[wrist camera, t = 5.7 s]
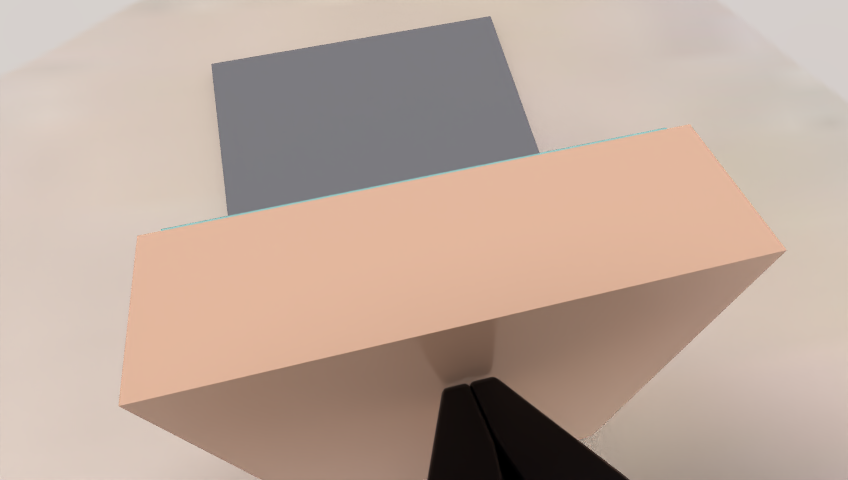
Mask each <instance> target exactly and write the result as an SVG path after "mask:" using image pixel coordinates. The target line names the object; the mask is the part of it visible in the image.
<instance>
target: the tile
mask: <svg viewBox="0 0 848 480" xmlns="http://www.w3.org/2000/svg"><path fill="white" fill-rule="evenodd" d="M785 251H786V249H785V247H784V246H783V245H782V244H781V242H780V241H779V240H778V238H777V237H776V236H775V234H774V233H773V232H772V231H771V229H770V228H769V227H768V225H767V224H766V223H765V221H764V220H763V219H762V218H761V216H760V215H759V214H758V212H757V211H756V210H755V208H754V207H753V206H752V204H751V203H750V202H749V201H748V199H747V198H746V197H745V195H744V194H743V193H742V191H741V190H740V189H739V188H738V186H737V185H736V184H735V182H734V181H733V180H732V178H731V177H730V176H729V175H728V173H727V172H726V171H725V169H724V168H723V167H722V165H721V164H720V163H719V162H718V160H717V159H716V158H715V156H714V155H713V154H712V152H711V151H710V150H709V149H708V147H707V146H706V145H705V143H704V142H703V141H702V139H701V138H700V137H699V135H698V134H697V133H696V132H695V130H694V129H693V128H692V126H691V125H690V124H689V125H684V126H679V127H674V128H669V129H667V128H662V129H657V130H652V131H647V132H642V133H637V134H632V135H627V136H622V137H617V138H612V139H607V140H602V141H597V142H592V143H587V144H582V145H578V146H573V147H568V148H563V149H558V150H553V151H548V152H543V153H538V154H533V155H528V156H523V157H518V158H513V159H508V160H503V161H498V162H493V163H488V164H483V165H478V166H473V167H468V168H463V169H458V170H453V171H448V172H443V173H438V174H434V175H429V176H424V177H419V178H414V179H409V180H404V181H399V182H394V183H389V184H384V185H379V186H374V187H369V188H364V189H359V190H354V191H349V192H344V193H339V194H334V195H329V196H324V197H319V198H314V199H309V200H304V201H299V202H294V203H290V204H285V205H280V206H275V207H270V208H265V209H260V210H255V211H250V212H245V213H240V214H235V215H230V216H225V217H220V218H215V219H210V220H205V221H200V222H195V223H190V224H185V225H180V226H175V227H170V228H165V229H161V231H159V232H154V233H149V234H144V235H139V236H137V243H136V252H135V261H134V271H133V280H132V289H131V298H130V307H129V316H128V325H127V334H126V343H125V352H124V361H123V370H122V379H121V388H120V397H119V406H120V407H121V408H123V409H125V410H127V411H129V412H131V413H133V414H135V415H137V416H139V417H141V418H143V419H145V420H147V421H149V422H151V423H152V424H154V425H156V426H158V427H160V428H162V429H164V430H166V431H168V432H170V433H172V434H174V435H176V436H178V437H180V438H182V439H184V440H185V441H187V442H189V443H191V444H193V445H195V446H197V447H199V448H201V449H203V450H205V451H207V452H209V453H211V454H213V455H215V456H216V457H218V458H220V459H222V460H224V461H226V462H228V463H230V464H232V465H234V466H236V467H238V468H240V469H242V470H244V471H246V472H248V473H249V474H251V475H253V476H255V477H257V478H259V479H261V480H426V479H427V478H428V472H429V466H430V460H431V454H432V448H433V442H434V436H435V430H436V424H437V418H438V412H439V406H440V400H441V394H442V391H443V390H444V389H445V388H448V387H452V386H456V385H460V384H468V385H469V386H470V384H471V383H472V382H473V381H476V380H481V379H485V378H489V377H496V378H498V379H499V380H501V381H502V382H503V383H504V384H506V385H507V386H508V387H510V388H511V389H512V390H514V391H515V392H516V393H517V394H519V395H520V396H521V397H523V398H524V399H525V400H527V401H528V402H529V403H530V404H532V405H533V406H534V407H536V408H537V409H538V410H540V411H541V412H542V413H543V414H545V415H546V416H547V417H549V418H550V419H551V420H553V421H554V422H555V423H556V424H558V425H559V426H560V427H562V428H563V429H564V430H566V431H567V432H568V433H569V434H571V435H572V436H573V437H575V438H576V439H577V440H579V439H583V438H586V437H590V436H592V435H593V434H594V433H595V432H596V431H597V430H598V429H599V428H600V427H601V426H602V425H603V424H605V423H606V422H607V421H608V420H609V419H610V418H611V417H612V416H613V415H614V414H615V413H616V412H617V411H618V410H619V409H620V408H621V407H622V406H623V405H624V404H626V403H627V402H628V401H629V400H630V399H631V398H632V397H633V396H634V395H635V394H636V393H637V392H638V391H639V390H640V389H641V388H642V387H643V386H644V385H646V384H647V383H648V382H649V381H650V380H651V379H652V378H653V377H654V376H655V375H656V374H657V373H658V372H659V371H660V370H661V369H662V368H663V367H664V366H665V365H667V364H668V363H669V362H670V361H671V360H672V359H673V358H674V357H675V356H676V355H677V354H678V353H679V352H680V351H681V350H682V349H683V348H684V347H685V346H686V345H688V344H689V343H690V342H691V341H692V340H693V339H694V338H695V337H696V336H697V335H698V334H699V333H700V332H701V331H702V330H703V329H704V328H705V327H706V326H708V325H709V324H710V323H711V322H712V321H713V320H714V319H715V318H716V317H717V316H718V315H719V314H720V313H721V312H722V311H723V310H724V309H725V308H726V307H727V306H729V305H730V304H731V303H732V302H733V301H734V300H735V299H736V298H737V297H738V296H739V295H740V294H741V293H742V292H743V291H744V290H745V289H746V288H747V287H748V286H750V285H751V284H752V283H753V282H754V281H755V280H756V279H757V278H758V277H759V276H760V275H761V274H762V273H763V272H764V271H765V270H766V269H767V268H768V267H770V266H771V265H772V264H773V263H774V262H775V261H776V260H777V259H778V258H779V257H780V256H781V255H782V254H783V253H784V252H785Z"/></svg>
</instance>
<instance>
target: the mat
mask: <svg viewBox="0 0 848 480" xmlns="http://www.w3.org/2000/svg"><path fill="white" fill-rule="evenodd" d="M212 73H213V83H214V92H215V101H216V110H217V119H218V128H219V138H220V147H221V156H222V165H223V174H224V184H225V193H226V202H227V211H228V216H230V215H235V214H240V213H245V212H250V211H255V210H260V209H265V208H270V207H275V206H280V205H285V204H290V203H294V202H299V201H304V200H309V199H314V198H319V197H324V196H329V195H334V194H339V193H344V192H349V191H354V190H359V189H364V188H369V187H374V186H379V185H384V184H389V183H394V182H399V181H404V180H409V179H414V178H419V177H424V176H429V175H434V174H438V173H443V172H448V171H453V170H458V169H463V168H468V167H473V166H478V165H483V164H488V163H493V162H498V161H503V160H508V159H513V158H518V157H523V156H528V155H533V154H538V153H539V151H538V148H537V145H536V142H535V139H534V137H533V134H532V131H531V128H530V125H529V123H528V120H527V117H526V114H525V111H524V109H523V106H522V103H521V100H520V98H519V95H518V92H517V89H516V86H515V84H514V81H513V78H512V75H511V72H510V70H509V67H508V64H507V61H506V58H505V56H504V53H503V50H502V47H501V44H500V42H499V39H498V36H497V33H496V31H495V28H494V25H493V22H492V19H491V17H490V16H489V17H483V18H477V19H472V20H466V21H460V22H454V23H448V24H442V25H437V26H431V27H425V28H419V29H413V30H407V31H402V32H396V33H390V34H384V35H378V36H372V37H367V38H361V39H355V40H349V41H343V42H337V43H331V44H326V45H320V46H314V47H308V48H302V49H296V50H291V51H285V52H279V53H273V54H267V55H261V56H256V57H250V58H244V59H238V60H232V61H226V62H221V63H215V64H212Z"/></svg>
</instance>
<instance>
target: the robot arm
mask: <svg viewBox="0 0 848 480" xmlns="http://www.w3.org/2000/svg"><path fill="white" fill-rule="evenodd" d="M427 480H629V479H628V478H627V477H625V476H624V475H623V474H621V473H620V472H619V471H618V470H616V469H615V468H614V467H612V466H611V465H610V464H608V463H607V462H606V461H605V460H603V459H602V458H601V457H599V456H598V455H597V454H595V453H594V452H593V451H592V450H590V449H589V448H588V447H586V446H585V445H584V444H582V443H581V442H580V441H579V440H577V439H576V438H575V437H573V436H572V435H571V434H569V433H568V432H567V431H566V430H564V429H563V428H562V427H560V426H559V425H558V424H556V423H555V422H554V421H553V420H551V419H550V418H549V417H547V416H546V415H545V414H543V413H542V412H541V411H540V410H538V409H537V408H536V407H534V406H533V405H532V404H530V403H529V402H528V401H527V400H525V399H524V398H523V397H521V396H520V395H519V394H517V393H516V392H515V391H514V390H512V389H511V388H510V387H508V386H507V385H506V384H504V383H503V382H502V381H501V380H499V379H498V378H496V377H489V378H485V379H481V380H476V381H473V382H472V383H471V384H470V386H469V385H468V384H460V385H456V386H452V387H448V388H445V389H444V390H443V391H442V394H441V400H440V406H439V412H438V418H437V424H436V430H435V436H434V442H433V448H432V454H431V460H430V466H429V472H428V478H427Z"/></svg>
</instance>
